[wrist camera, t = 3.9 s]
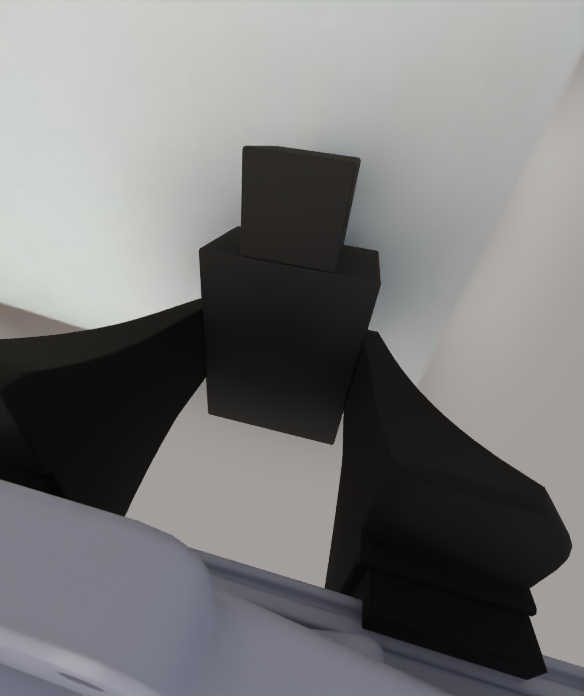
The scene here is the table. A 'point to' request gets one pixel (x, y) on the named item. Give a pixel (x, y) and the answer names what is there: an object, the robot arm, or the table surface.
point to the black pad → (287, 295)
